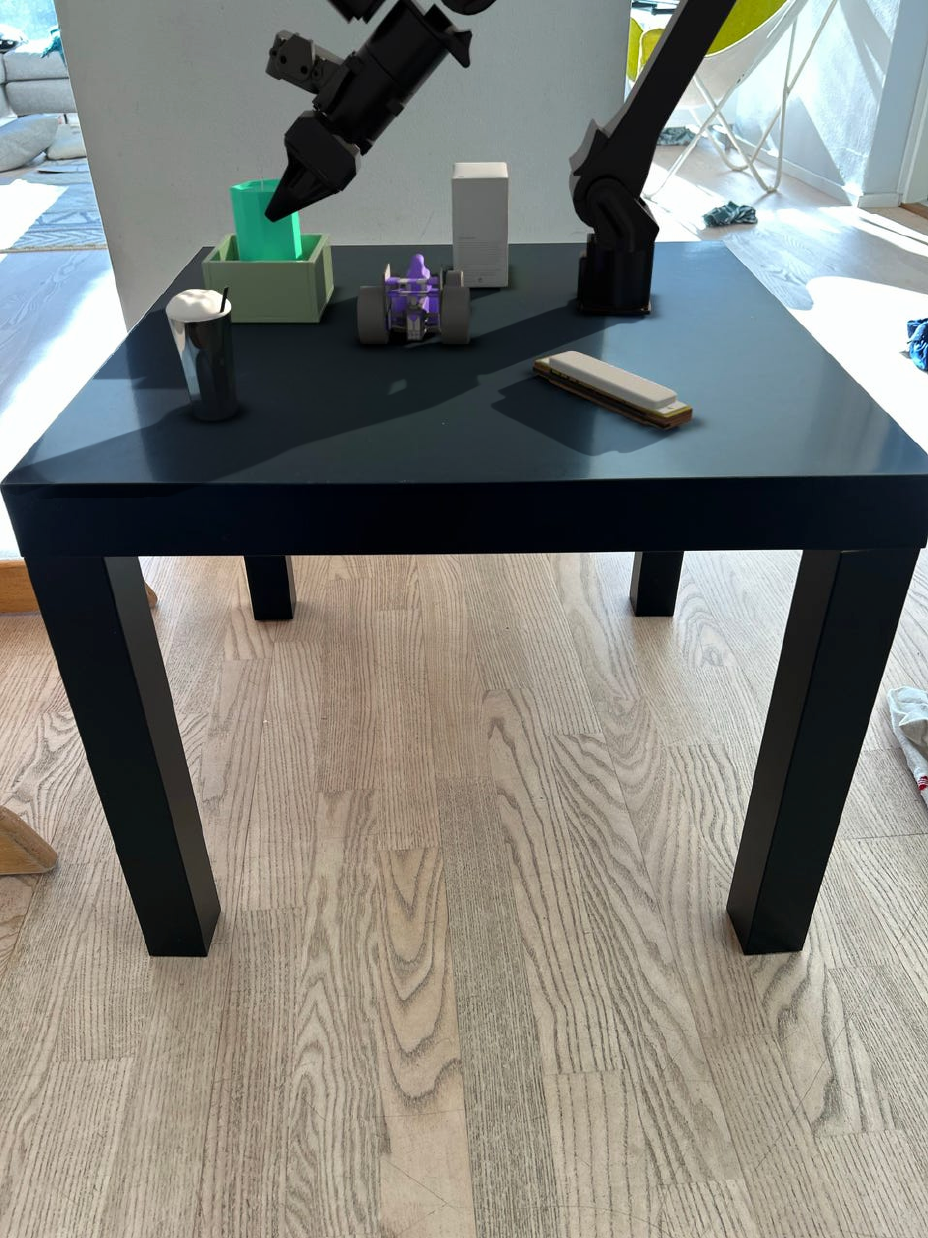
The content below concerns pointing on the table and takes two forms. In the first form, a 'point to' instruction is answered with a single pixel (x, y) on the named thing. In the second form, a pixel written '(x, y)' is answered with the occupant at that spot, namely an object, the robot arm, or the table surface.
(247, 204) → the candle
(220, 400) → the milkshake
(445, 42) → the robot arm
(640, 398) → the harmonica
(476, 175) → the small box
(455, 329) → the toy race car
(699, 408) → the table surface
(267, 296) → the open green box
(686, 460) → the table surface
